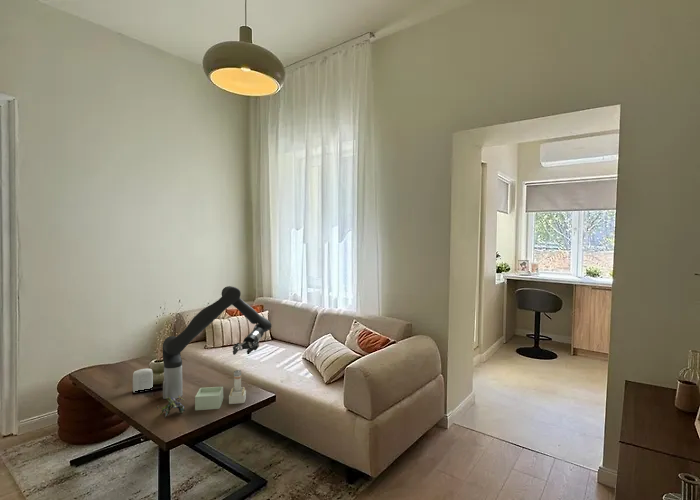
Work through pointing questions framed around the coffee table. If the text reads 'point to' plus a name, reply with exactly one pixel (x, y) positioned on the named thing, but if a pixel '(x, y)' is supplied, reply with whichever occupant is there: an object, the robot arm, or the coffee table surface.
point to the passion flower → (173, 403)
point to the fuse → (237, 381)
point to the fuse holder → (237, 396)
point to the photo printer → (142, 379)
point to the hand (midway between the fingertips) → (240, 353)
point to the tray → (209, 398)
